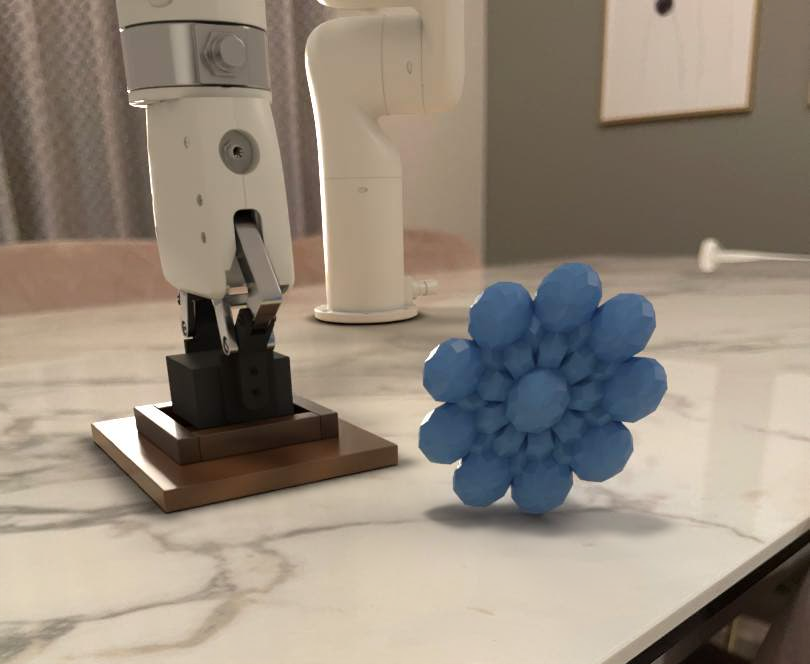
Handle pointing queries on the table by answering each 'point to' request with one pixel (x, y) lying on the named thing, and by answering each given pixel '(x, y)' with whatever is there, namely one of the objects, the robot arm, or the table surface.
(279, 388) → the dark grey block
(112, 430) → the wooden socket base
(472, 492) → the blue flower ornament
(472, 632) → the table surface
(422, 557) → the table surface
